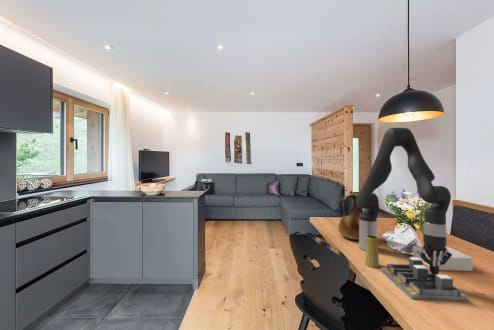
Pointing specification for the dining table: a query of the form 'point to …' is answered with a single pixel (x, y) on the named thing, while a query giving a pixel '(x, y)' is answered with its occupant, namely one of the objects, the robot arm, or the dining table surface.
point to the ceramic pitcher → (350, 220)
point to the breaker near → (444, 282)
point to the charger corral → (450, 260)
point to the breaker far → (414, 262)
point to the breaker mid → (420, 271)
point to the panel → (419, 284)
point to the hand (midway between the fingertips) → (434, 273)
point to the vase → (372, 251)
